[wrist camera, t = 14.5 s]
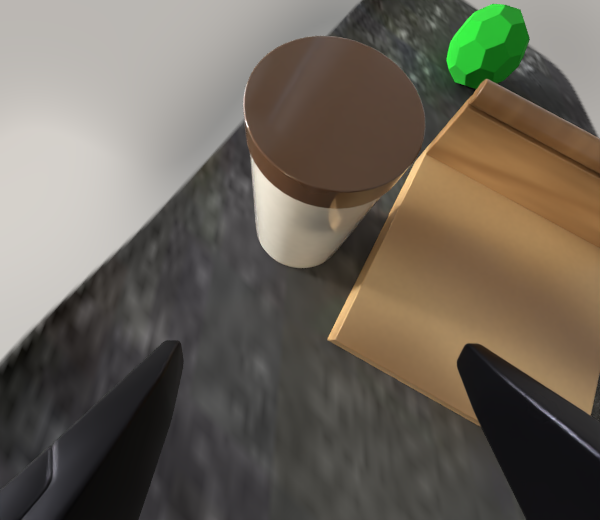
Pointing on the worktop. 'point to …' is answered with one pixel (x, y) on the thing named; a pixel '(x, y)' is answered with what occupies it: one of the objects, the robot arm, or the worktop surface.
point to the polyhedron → (488, 46)
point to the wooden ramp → (488, 256)
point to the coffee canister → (325, 142)
